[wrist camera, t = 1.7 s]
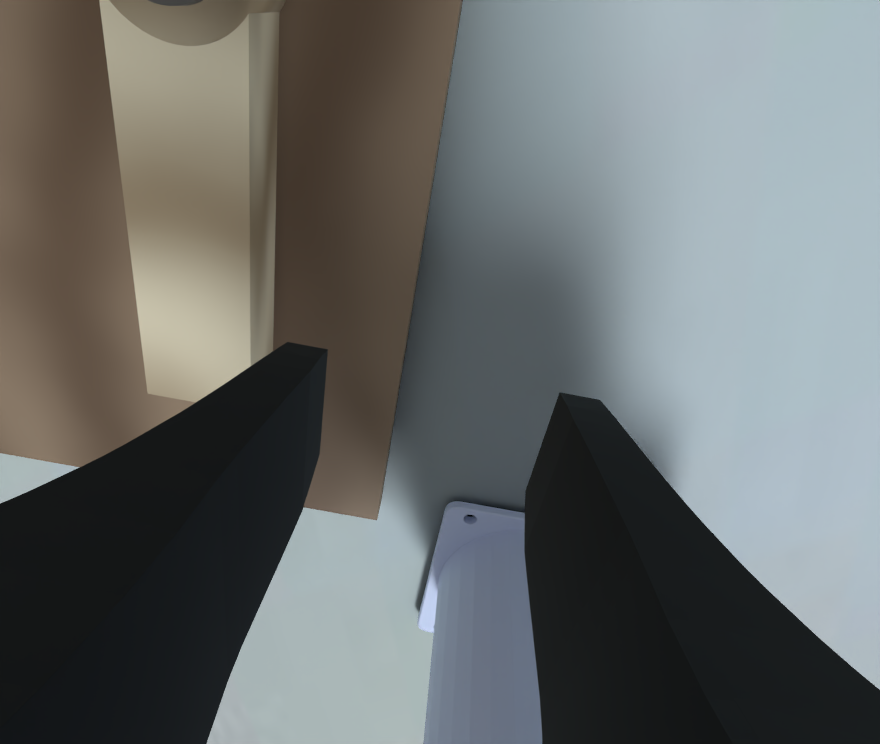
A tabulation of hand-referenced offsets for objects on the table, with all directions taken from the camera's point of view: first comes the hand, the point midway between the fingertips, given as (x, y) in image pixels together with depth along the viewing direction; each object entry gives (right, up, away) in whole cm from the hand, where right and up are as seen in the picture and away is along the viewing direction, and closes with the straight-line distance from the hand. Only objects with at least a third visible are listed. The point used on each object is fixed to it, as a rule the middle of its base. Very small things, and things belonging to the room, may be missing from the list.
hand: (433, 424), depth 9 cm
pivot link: (-6, +6, +6) cm, 11 cm away
